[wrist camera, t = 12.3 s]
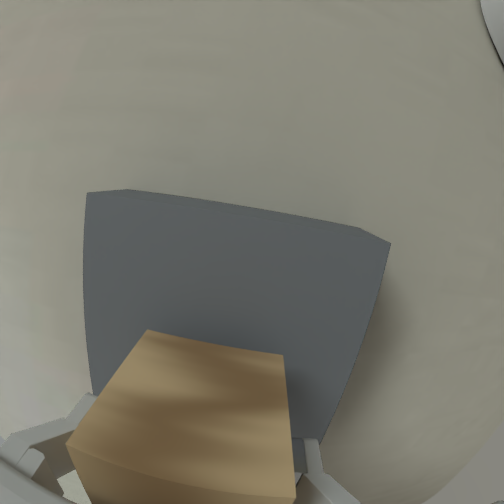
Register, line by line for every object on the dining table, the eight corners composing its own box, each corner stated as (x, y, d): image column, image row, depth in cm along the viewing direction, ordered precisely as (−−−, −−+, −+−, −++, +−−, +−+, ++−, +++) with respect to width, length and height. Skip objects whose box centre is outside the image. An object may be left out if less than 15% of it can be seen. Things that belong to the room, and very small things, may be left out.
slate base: (359, 228, 15) (391, 243, 11) (297, 433, 18) (302, 477, 14) (127, 189, 15) (86, 192, 11) (124, 400, 18) (102, 438, 14)
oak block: (283, 354, 10) (296, 497, 5) (258, 442, 12) (254, 557, 6) (147, 329, 10) (65, 443, 5) (148, 421, 12) (103, 524, 6)
